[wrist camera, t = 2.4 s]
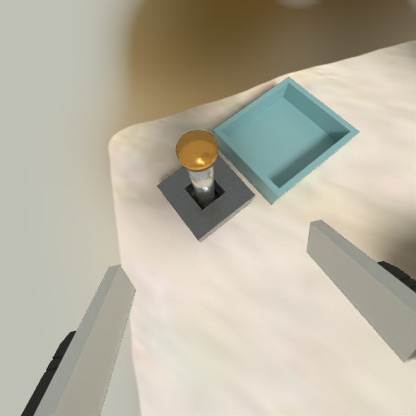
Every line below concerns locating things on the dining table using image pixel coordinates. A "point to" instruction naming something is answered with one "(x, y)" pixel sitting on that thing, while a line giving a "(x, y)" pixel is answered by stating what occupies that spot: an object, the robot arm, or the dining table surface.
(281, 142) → the tray
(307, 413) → the dining table surface
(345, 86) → the dining table surface
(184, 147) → the pin
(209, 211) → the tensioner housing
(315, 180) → the dining table surface
